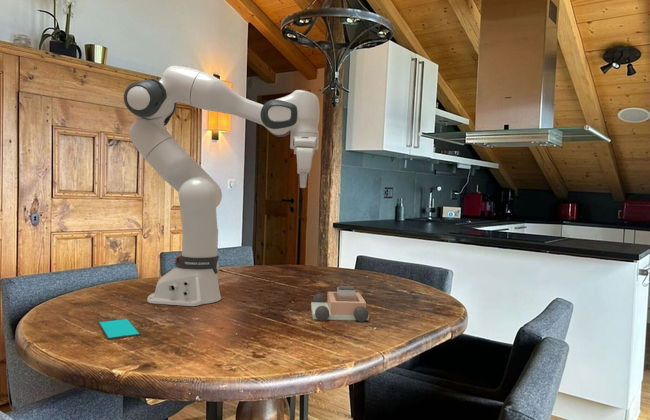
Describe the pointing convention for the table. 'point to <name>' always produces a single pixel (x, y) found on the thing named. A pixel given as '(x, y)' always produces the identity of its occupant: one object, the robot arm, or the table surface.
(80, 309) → the table surface
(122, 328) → the smartphone
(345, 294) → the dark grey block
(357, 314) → the chassis
